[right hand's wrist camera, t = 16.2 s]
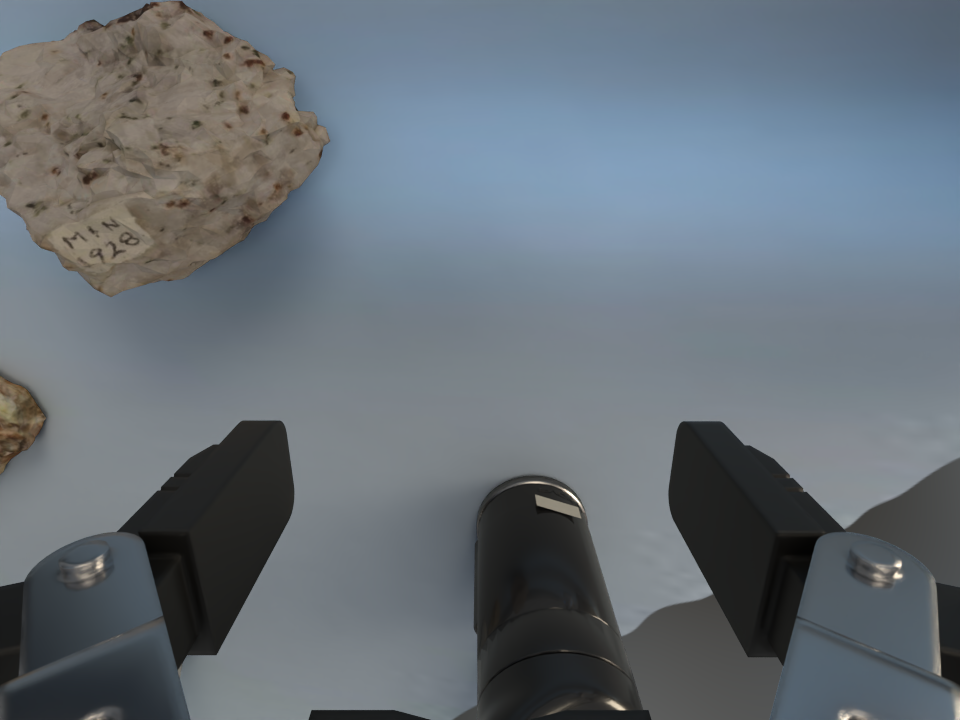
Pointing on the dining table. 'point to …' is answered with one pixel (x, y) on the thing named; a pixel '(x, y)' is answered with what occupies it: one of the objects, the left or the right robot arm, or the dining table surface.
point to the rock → (148, 144)
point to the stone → (17, 421)
